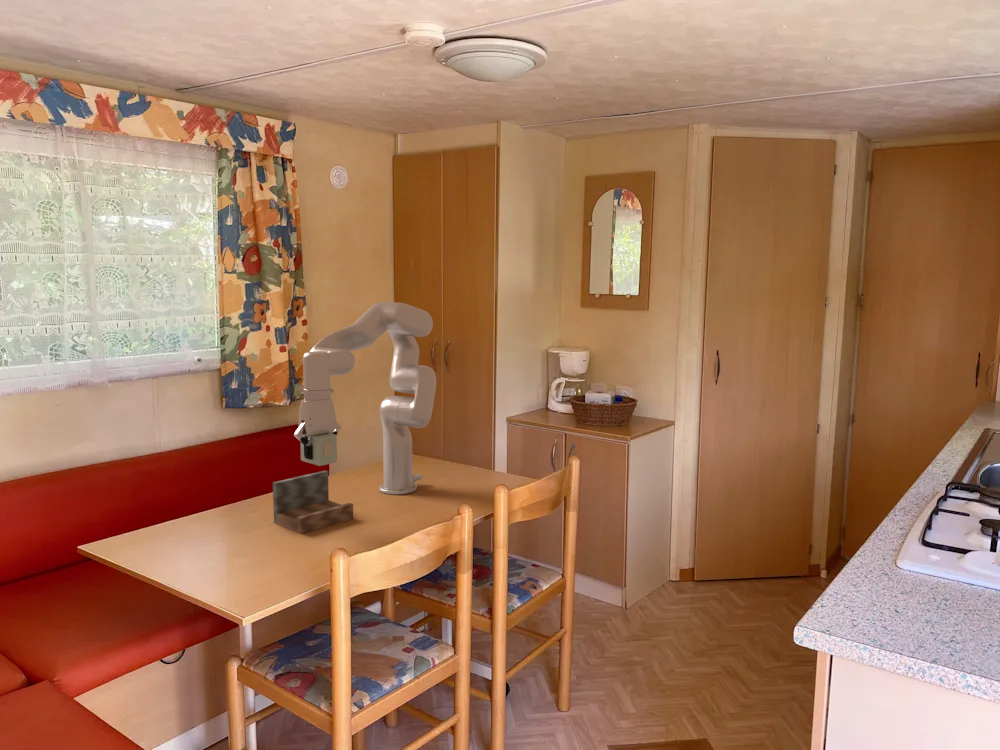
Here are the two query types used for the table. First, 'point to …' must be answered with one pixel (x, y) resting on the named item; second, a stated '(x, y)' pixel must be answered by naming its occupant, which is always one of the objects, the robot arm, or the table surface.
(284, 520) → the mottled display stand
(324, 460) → the mini block
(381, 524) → the table surface
